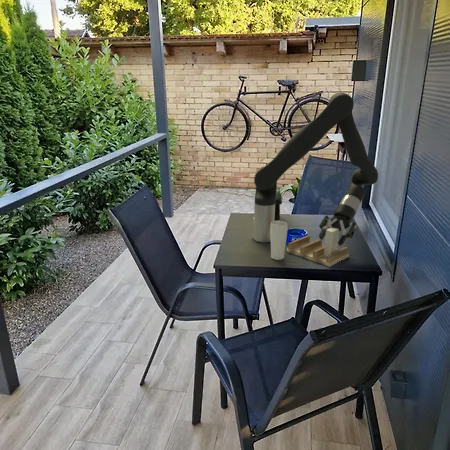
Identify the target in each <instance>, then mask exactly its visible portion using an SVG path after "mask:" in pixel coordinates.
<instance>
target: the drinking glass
mask: <svg viewBox="0 0 450 450" xmlns="http://www.w3.org/2000/svg"><path fill="white" fill-rule="evenodd" d="M287 236H288V222H286V221H284V220H279V221H272V222H271V226H270V239H271V242H270V257H271V259H273V260H276V261H281V260H284V258H285V250H286V243H287Z"/></svg>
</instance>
